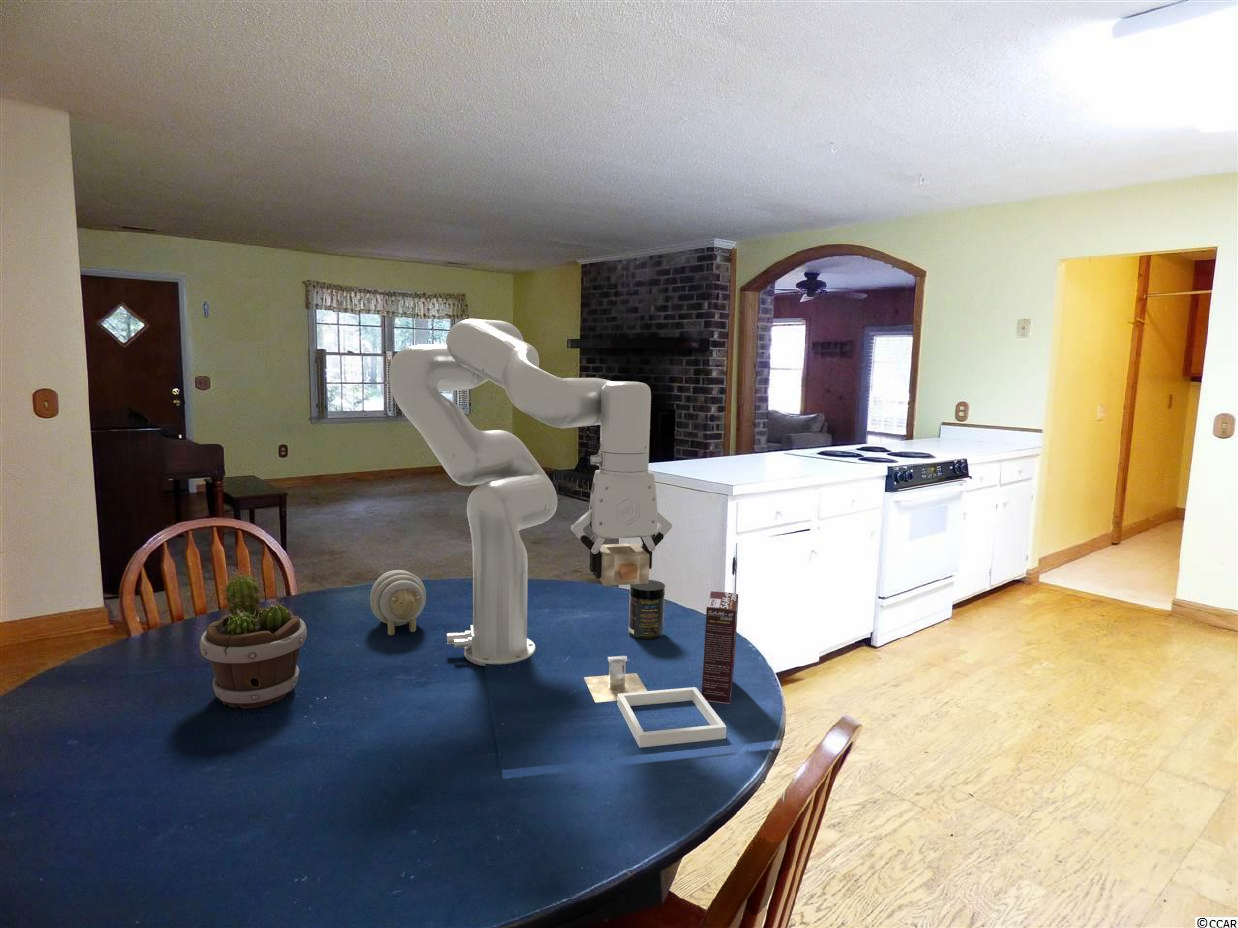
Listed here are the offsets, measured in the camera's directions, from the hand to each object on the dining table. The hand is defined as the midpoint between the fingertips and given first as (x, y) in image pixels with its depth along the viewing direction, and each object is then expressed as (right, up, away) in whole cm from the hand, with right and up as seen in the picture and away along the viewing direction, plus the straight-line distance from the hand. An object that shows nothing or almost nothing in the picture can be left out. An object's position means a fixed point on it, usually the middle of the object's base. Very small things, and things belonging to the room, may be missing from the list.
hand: (620, 574), depth 115 cm
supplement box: (+16, -20, +3) cm, 26 cm away
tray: (+7, -21, -7) cm, 23 cm away
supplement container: (+5, -16, +26) cm, 31 cm away
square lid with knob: (-1, -19, +3) cm, 20 cm away
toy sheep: (-43, -15, +29) cm, 54 cm away
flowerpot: (-56, -19, -1) cm, 59 cm away
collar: (0, -1, 0) cm, 1 cm away
